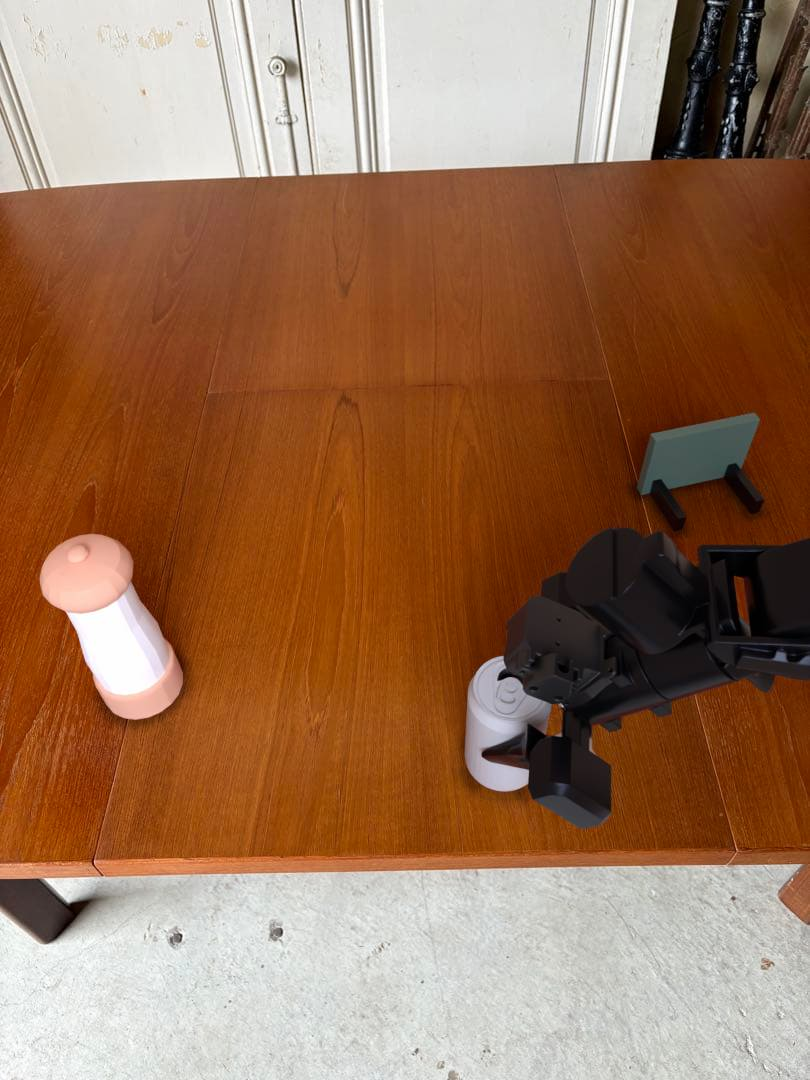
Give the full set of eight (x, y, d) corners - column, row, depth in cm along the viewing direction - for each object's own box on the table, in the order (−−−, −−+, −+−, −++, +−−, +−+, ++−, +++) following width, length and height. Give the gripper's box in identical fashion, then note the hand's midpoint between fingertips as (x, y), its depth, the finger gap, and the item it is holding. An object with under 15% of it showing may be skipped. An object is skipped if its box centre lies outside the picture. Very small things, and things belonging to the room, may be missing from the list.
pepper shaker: (95, 720, 73) (12, 589, 59) (114, 652, 78) (41, 516, 64) (175, 719, 73) (111, 586, 59) (189, 651, 78) (133, 513, 64)
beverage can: (546, 738, 71) (562, 662, 62) (529, 805, 67) (543, 735, 58) (475, 717, 72) (481, 641, 63) (454, 782, 68) (457, 710, 59)
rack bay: (767, 510, 88) (791, 455, 82) (665, 533, 86) (682, 479, 80) (734, 467, 92) (754, 412, 87) (636, 487, 91) (650, 433, 85)
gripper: (587, 495, 58) (434, 576, 67) (582, 730, 46) (396, 788, 55) (677, 577, 63) (522, 642, 72) (694, 809, 50) (504, 849, 60)
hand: (489, 719), depth 65 cm, fingers closed on beverage can, 6 cm apart
